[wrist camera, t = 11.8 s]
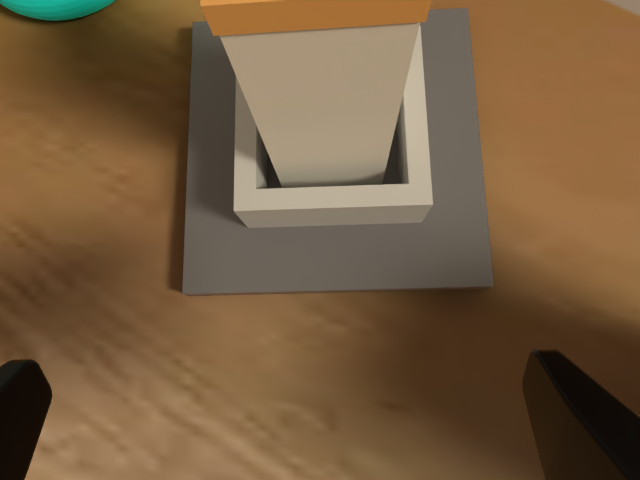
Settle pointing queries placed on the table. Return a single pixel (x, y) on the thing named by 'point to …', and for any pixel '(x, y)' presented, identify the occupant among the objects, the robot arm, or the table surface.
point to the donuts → (55, 8)
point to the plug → (321, 80)
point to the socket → (340, 188)
